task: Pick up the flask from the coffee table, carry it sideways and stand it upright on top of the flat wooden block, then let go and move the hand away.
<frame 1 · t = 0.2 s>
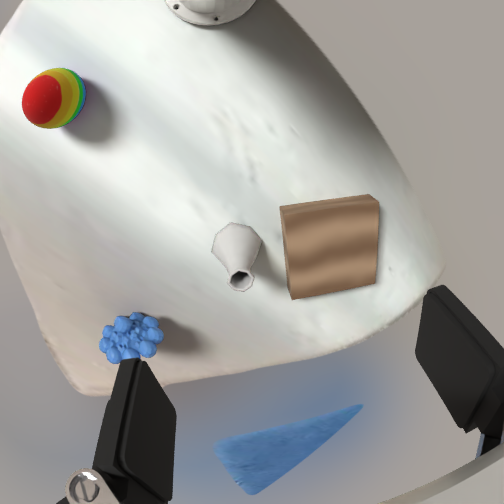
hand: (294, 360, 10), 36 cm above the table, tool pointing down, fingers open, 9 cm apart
flask: (236, 244, 48), on the table
grapes: (135, 309, 52), on the table
decorative egg: (68, 97, 35), on the table
flat wooden block: (326, 241, 50), on the table
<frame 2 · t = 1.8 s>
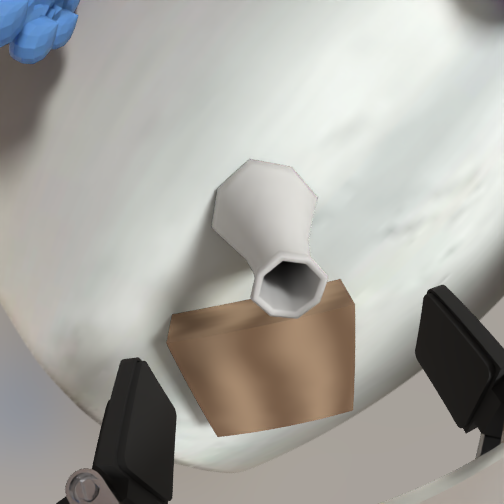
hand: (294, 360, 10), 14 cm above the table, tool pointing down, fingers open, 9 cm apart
flask: (263, 209, 22), on the table
flat wooden block: (269, 354, 29), on the table
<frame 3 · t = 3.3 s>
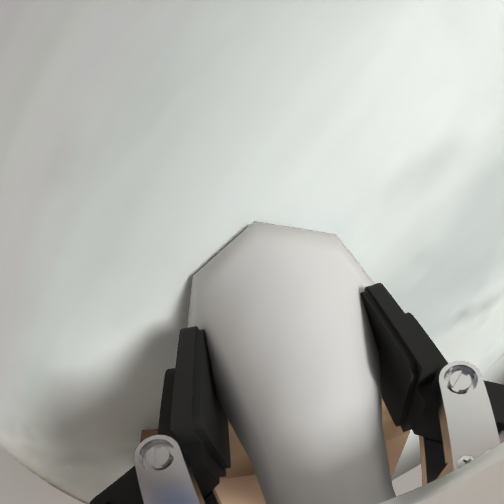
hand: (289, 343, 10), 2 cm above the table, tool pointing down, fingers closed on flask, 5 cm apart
flask: (278, 305, 12), on the table, touching gripper
flat wooden block: (278, 459, 19), on the table
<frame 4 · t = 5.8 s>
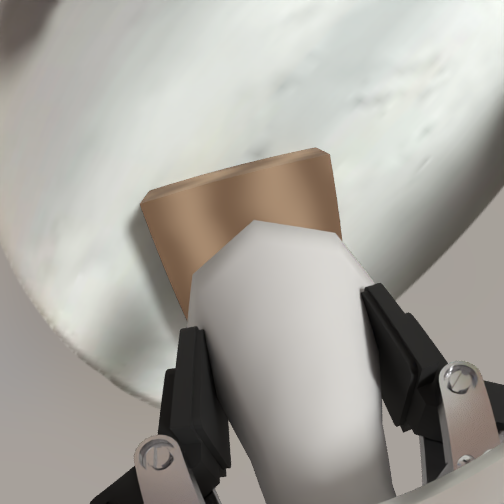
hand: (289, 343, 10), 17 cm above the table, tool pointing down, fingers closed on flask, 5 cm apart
flask: (278, 304, 12), point 15 cm above the table, touching gripper
flat wooden block: (251, 241, 28), on the table
when the fingers open (7 cm above the table, at t = 8.4 s): flask drops 2 cm, resting on flat wooden block.
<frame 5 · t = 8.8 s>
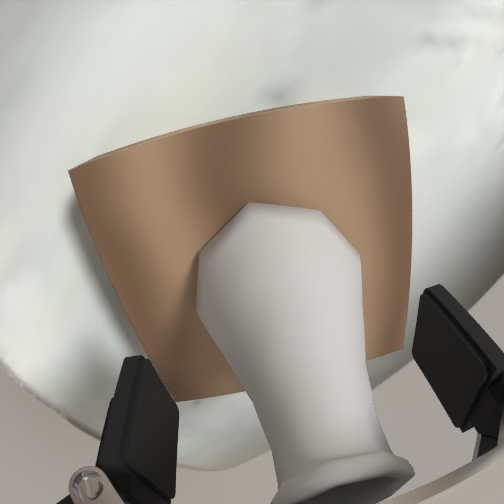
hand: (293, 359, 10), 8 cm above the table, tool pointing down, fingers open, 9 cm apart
flask: (276, 277, 14), point 3 cm above the table, touching flat wooden block
flat wooden block: (260, 243, 18), on the table, touching flask
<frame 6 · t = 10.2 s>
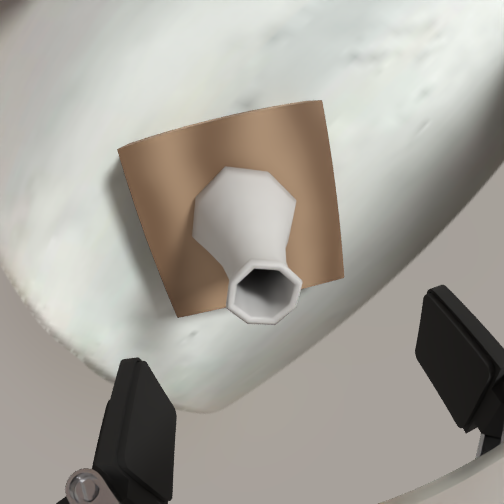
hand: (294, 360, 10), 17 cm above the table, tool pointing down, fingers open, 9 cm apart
flask: (243, 215, 23), point 3 cm above the table, touching flat wooden block
flat wooden block: (237, 201, 26), on the table, touching flask
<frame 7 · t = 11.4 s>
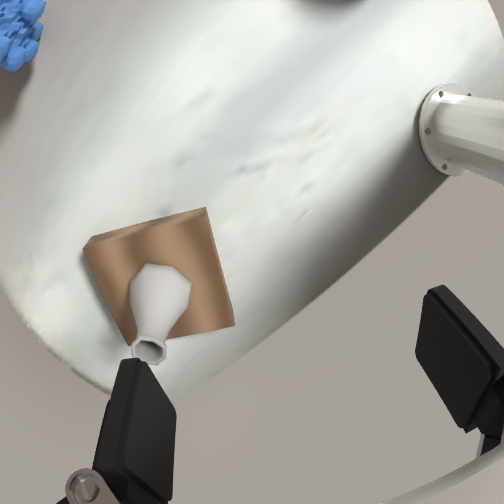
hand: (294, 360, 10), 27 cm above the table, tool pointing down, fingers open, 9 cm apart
flask: (160, 290, 35), point 3 cm above the table
grapes: (44, 28, 23), on the table
flat wooden block: (164, 272, 38), on the table
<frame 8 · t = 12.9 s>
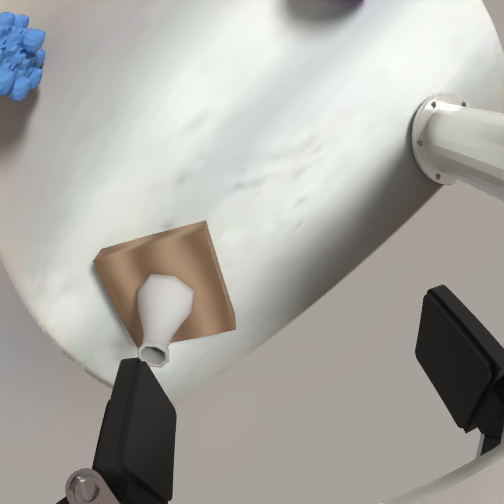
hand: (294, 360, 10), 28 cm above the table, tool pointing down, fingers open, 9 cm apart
flask: (165, 297, 38), point 3 cm above the table, touching flat wooden block
grapes: (46, 54, 26), on the table
flat wooden block: (169, 280, 41), on the table, touching flask
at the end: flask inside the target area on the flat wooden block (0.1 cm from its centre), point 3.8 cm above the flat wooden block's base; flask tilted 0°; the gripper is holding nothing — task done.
